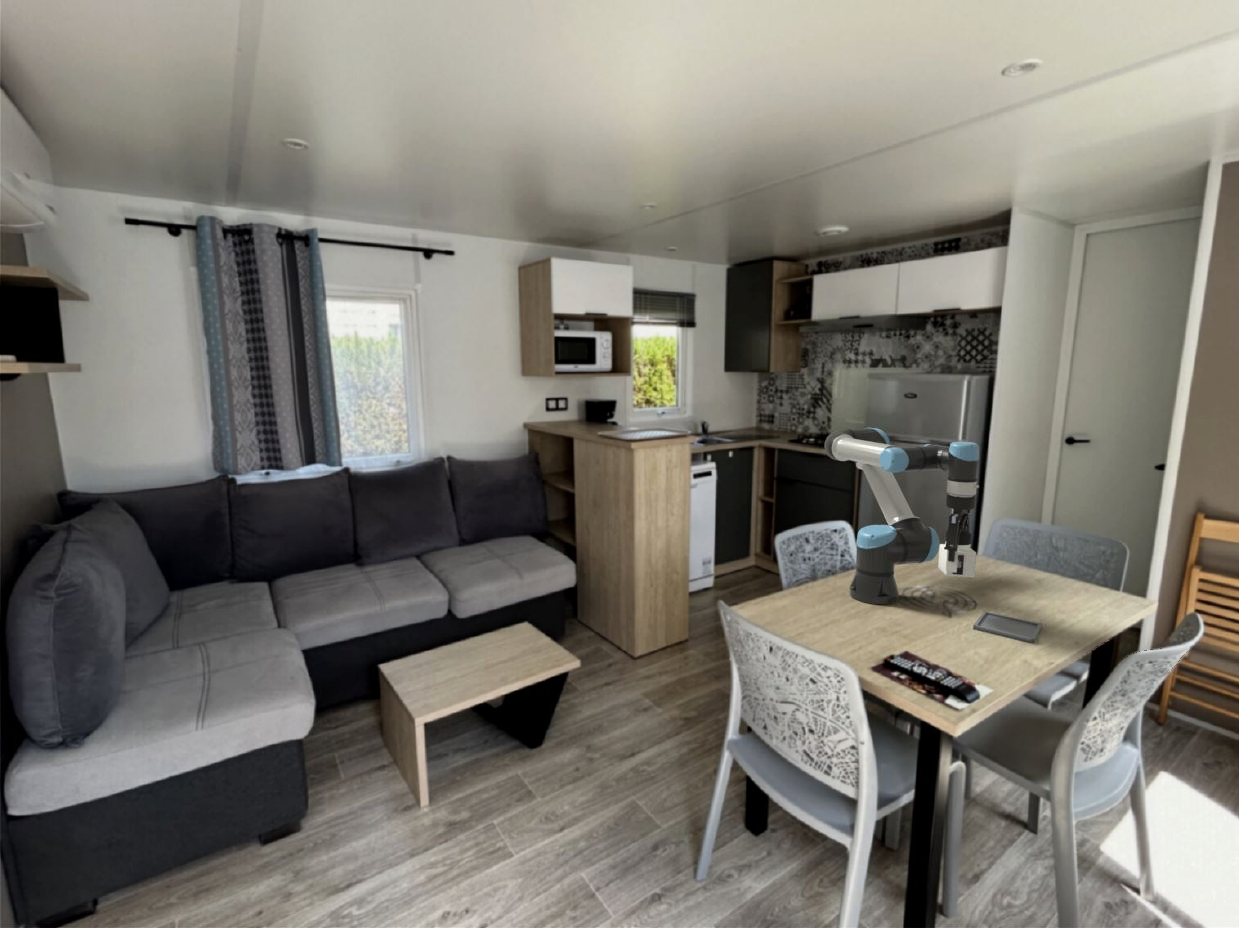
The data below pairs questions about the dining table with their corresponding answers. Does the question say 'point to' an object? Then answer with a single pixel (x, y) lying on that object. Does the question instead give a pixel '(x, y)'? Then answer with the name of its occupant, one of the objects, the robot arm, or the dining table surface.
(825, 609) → the dining table surface
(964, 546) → the container
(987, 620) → the tray
